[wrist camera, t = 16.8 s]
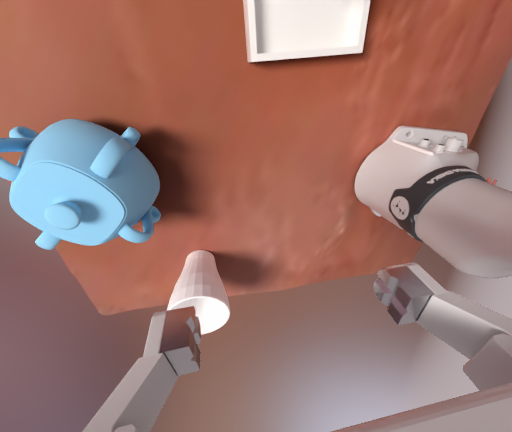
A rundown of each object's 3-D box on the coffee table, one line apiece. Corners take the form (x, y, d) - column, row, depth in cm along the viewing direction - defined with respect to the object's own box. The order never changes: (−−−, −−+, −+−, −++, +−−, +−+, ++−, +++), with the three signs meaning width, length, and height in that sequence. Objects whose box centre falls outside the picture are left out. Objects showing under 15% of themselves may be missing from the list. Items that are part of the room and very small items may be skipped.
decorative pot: (62, 212, 38) (1, 274, 27) (24, 108, 29) (-88, 134, 18) (165, 215, 42) (150, 270, 30) (158, 123, 33) (133, 152, 22)
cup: (214, 234, 46) (216, 288, 35) (231, 268, 52) (238, 323, 41) (165, 251, 46) (152, 310, 35) (188, 282, 52) (183, 341, 41)
